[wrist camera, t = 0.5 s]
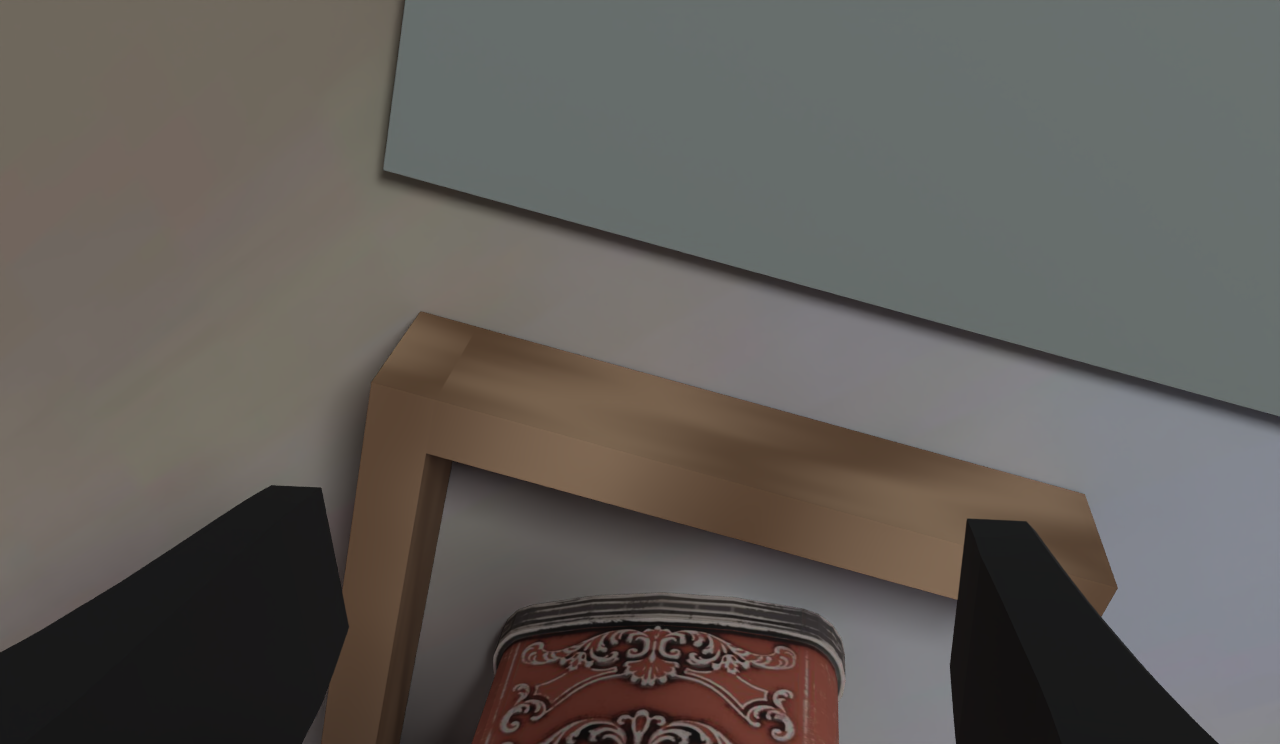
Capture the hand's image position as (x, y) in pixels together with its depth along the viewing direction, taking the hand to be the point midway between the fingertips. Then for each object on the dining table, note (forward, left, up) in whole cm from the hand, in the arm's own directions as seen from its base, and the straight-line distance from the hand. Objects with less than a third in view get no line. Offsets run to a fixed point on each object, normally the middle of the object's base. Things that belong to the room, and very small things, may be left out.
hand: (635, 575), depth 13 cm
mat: (-4, -4, -10) cm, 12 cm away
